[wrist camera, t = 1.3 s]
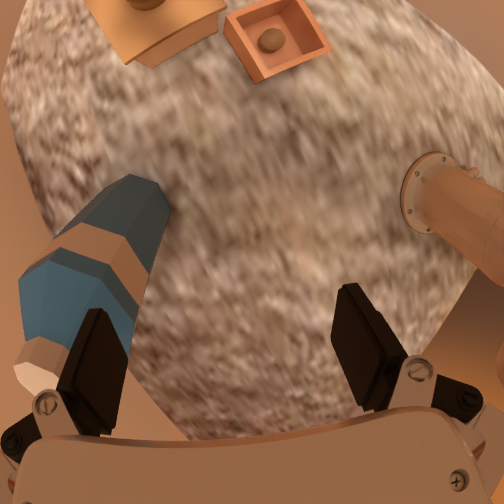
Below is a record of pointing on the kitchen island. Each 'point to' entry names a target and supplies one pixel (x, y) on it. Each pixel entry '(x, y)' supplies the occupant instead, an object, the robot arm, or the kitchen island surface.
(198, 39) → the cream open box
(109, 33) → the lid
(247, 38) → the orange open box
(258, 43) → the cork
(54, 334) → the water bottle
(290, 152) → the kitchen island surface
